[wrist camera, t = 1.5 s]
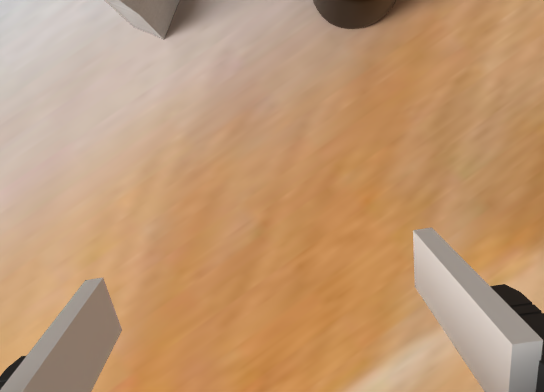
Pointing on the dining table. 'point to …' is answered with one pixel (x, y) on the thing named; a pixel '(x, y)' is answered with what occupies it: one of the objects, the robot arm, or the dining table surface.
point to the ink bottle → (353, 11)
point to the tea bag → (147, 14)
